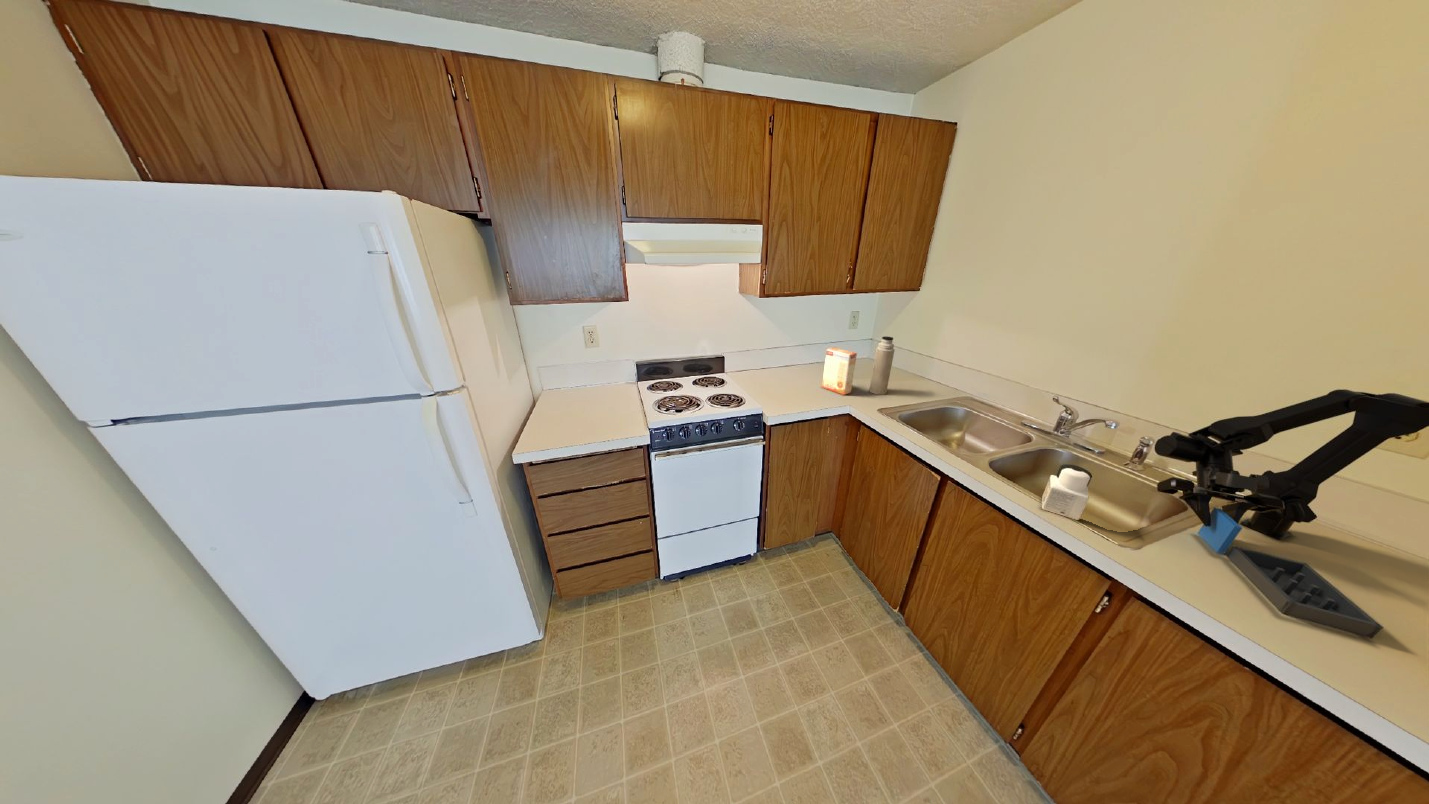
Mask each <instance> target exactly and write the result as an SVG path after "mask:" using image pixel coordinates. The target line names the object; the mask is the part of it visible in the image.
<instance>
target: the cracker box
mask: <svg viewBox="0 0 1429 804" xmlns="http://www.w3.org/2000/svg"><path fill="white" fill-rule="evenodd" d="M857 355H858V352H854V351H850V350H846V349H842V348H838V347H835V346H834V347H828V348H826V353H825V359H824V368H823V376H822V384H821V388H824V389H826V390H829V391H831V392H834V393H838V394H840V395H842V396H845V395H848V394H851V393H852V387H853V381H854V375H855V369H856V368H855V367H856V362H857Z"/></svg>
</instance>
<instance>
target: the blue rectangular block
mask: <svg viewBox="0 0 1429 804" xmlns="http://www.w3.org/2000/svg"><path fill="white" fill-rule="evenodd" d="M1210 516H1211V526H1208V527H1207V526H1205V525H1204V524H1203V523H1202V525H1201V527H1200V529H1199V530H1198V532H1197V534H1198V536H1199V537H1200V538H1201V539H1202V540H1203V541H1204V542H1205V543H1206V544H1207V545H1208V546H1209V547H1210V549H1212V550H1213V551H1214V552H1215V554H1218V555H1225V553H1226V552H1227V551H1228V549H1229V547H1230V546H1231V545H1232V543H1233V542H1234V540H1235V539H1236V538H1237V536H1238V535H1239V533H1240V532H1241V531H1242V529H1243V527H1242V526H1240V525H1239V523H1238V524H1237V523H1236V522H1235V521H1234V520H1233V519H1232V518H1231V517H1229V516H1228V515H1227V514H1226V513H1225V512H1224V511H1223V510H1222V508H1219V507H1213V509H1212V510H1211V511H1210Z"/></svg>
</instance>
